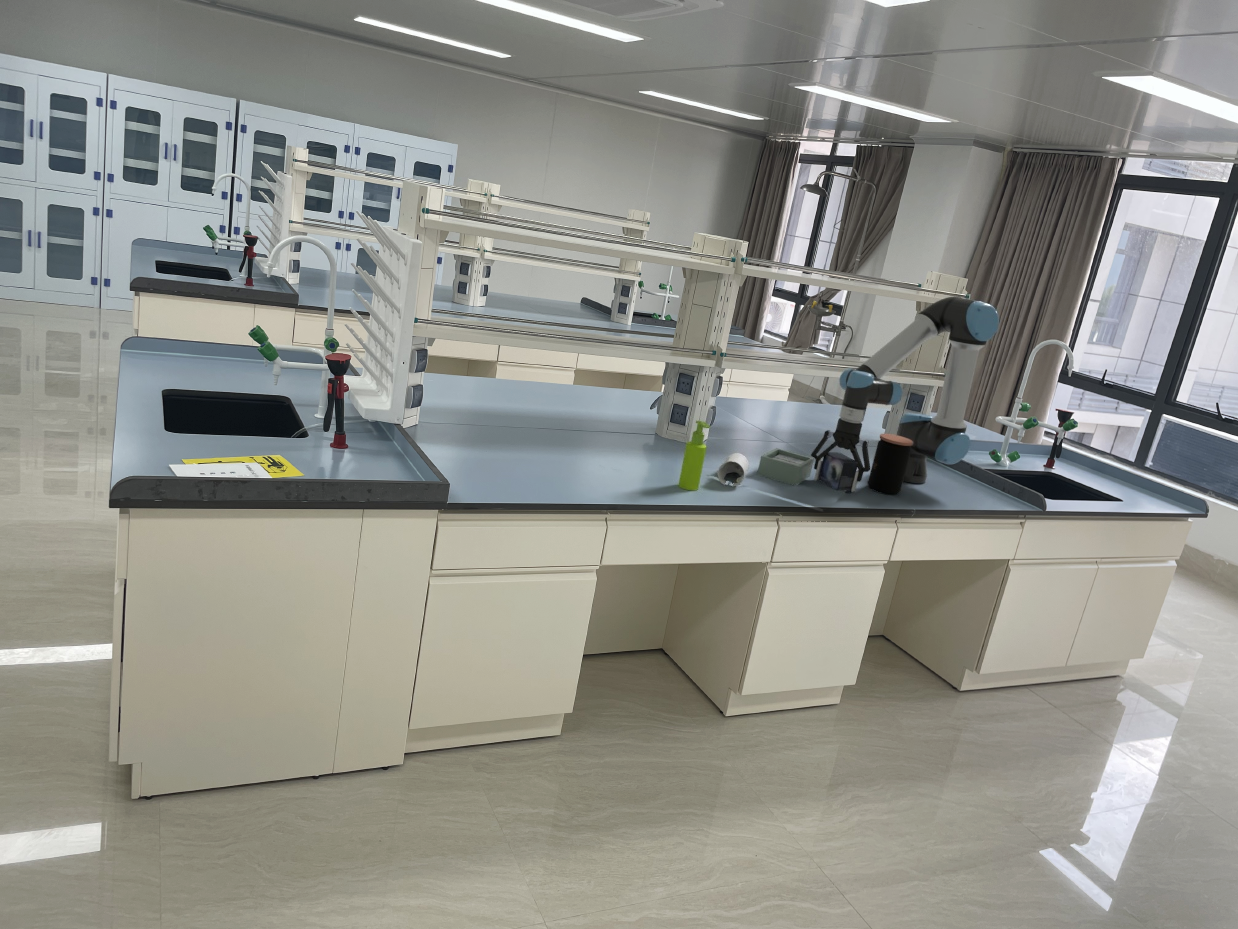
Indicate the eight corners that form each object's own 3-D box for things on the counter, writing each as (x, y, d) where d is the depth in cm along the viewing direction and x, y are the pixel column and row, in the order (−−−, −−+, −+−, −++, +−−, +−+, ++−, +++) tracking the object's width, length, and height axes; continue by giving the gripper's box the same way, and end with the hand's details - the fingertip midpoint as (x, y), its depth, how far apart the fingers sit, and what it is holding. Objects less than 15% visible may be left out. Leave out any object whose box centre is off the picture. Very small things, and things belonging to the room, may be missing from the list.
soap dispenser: (685, 491, 252) (698, 424, 246) (675, 483, 258) (687, 418, 252) (703, 492, 254) (716, 425, 249) (692, 483, 260) (705, 419, 255)
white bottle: (749, 475, 281) (754, 451, 278) (741, 489, 263) (746, 464, 261) (724, 469, 282) (730, 446, 280) (715, 483, 265) (720, 458, 263)
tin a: (802, 475, 288) (806, 460, 286) (797, 479, 282) (800, 464, 281) (777, 468, 291) (780, 453, 290) (771, 471, 286) (774, 456, 284)
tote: (809, 478, 288) (814, 458, 286) (795, 488, 274) (800, 467, 272) (772, 467, 294) (776, 448, 292) (756, 476, 280) (761, 455, 278)
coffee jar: (874, 483, 297) (887, 432, 292) (904, 493, 291) (918, 441, 286) (861, 487, 289) (874, 435, 284) (891, 497, 283) (906, 444, 278)
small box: (816, 481, 286) (823, 451, 283) (832, 482, 289) (839, 451, 286) (835, 492, 277) (843, 461, 274) (852, 493, 280) (859, 462, 277)
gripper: (811, 412, 278) (796, 476, 284) (886, 431, 268) (868, 497, 274) (817, 409, 285) (802, 472, 291) (890, 428, 275) (873, 493, 281)
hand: (834, 484), depth 282 cm, fingers closed on small box, 12 cm apart
